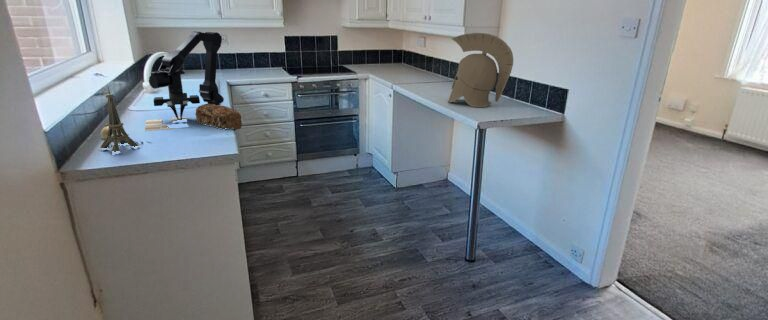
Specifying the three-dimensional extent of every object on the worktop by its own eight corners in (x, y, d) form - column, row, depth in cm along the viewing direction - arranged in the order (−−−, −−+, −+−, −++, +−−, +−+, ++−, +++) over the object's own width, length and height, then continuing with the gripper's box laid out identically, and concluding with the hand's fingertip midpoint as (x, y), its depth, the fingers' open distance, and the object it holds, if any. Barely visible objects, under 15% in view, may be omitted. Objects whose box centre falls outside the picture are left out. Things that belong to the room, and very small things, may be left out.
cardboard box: (146, 129, 188) (145, 125, 188) (188, 125, 195) (188, 122, 195) (145, 134, 181) (144, 131, 180) (189, 130, 188) (189, 127, 187)
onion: (125, 136, 178) (122, 120, 175) (125, 142, 171) (122, 124, 169) (102, 139, 174) (99, 122, 172) (101, 144, 168) (98, 127, 165)
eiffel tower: (114, 155, 156) (100, 86, 148) (97, 150, 161) (83, 83, 152) (142, 148, 165) (130, 82, 156) (125, 143, 170) (113, 79, 161)
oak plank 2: (172, 121, 200) (171, 117, 199) (187, 119, 202) (186, 116, 202) (172, 126, 193) (172, 123, 193) (188, 125, 196) (188, 122, 195)
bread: (196, 126, 195) (193, 104, 191) (216, 122, 203) (214, 101, 200) (223, 133, 185) (221, 111, 182) (243, 128, 194) (241, 106, 190)
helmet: (452, 98, 269) (457, 30, 255) (510, 104, 254) (519, 34, 241) (441, 104, 252) (446, 32, 238) (503, 111, 237) (512, 35, 224)
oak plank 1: (146, 123, 195) (145, 120, 195) (162, 122, 198) (161, 119, 198) (146, 128, 189) (145, 125, 188) (162, 127, 192) (162, 124, 191)
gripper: (151, 89, 183) (156, 125, 188) (198, 87, 190) (202, 121, 196) (151, 84, 192) (156, 118, 198) (197, 82, 200) (200, 115, 205)
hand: (179, 118), depth 199 cm, fingers closed on oak plank 2
